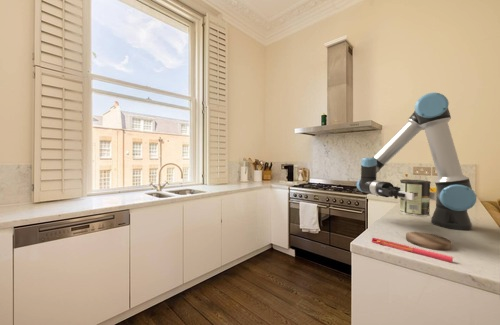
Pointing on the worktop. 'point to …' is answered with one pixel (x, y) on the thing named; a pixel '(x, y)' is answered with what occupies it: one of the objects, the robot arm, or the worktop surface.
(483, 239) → the worktop surface
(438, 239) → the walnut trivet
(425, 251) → the chopstick
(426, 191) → the coffee can
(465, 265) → the worktop surface
